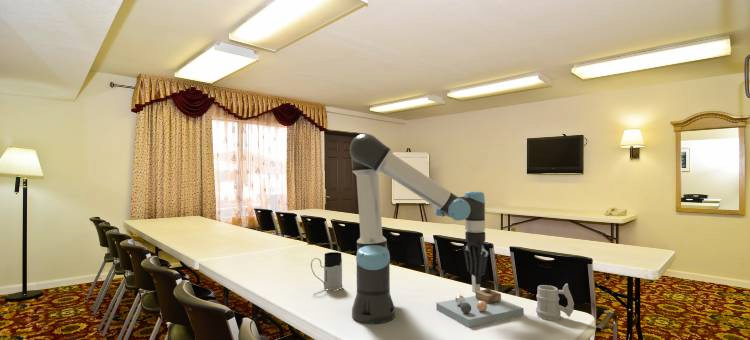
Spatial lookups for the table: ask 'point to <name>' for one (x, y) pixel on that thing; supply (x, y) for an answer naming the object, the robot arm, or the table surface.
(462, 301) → the steel ball
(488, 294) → the cover
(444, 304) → the board
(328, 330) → the table surface
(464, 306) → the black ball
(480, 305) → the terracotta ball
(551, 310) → the mug
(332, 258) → the glass holder
